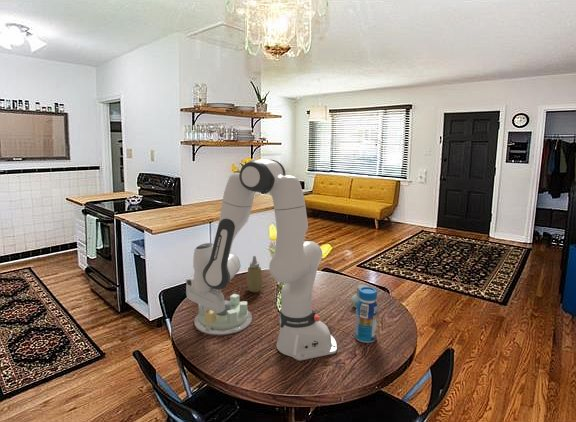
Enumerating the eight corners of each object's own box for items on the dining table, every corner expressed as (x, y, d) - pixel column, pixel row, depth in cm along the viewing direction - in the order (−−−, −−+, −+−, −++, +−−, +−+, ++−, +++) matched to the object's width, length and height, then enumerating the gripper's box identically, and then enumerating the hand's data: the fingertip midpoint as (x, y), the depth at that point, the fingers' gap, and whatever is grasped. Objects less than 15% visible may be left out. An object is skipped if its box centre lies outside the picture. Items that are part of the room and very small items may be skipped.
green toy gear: (218, 302, 169) (218, 289, 168) (257, 312, 160) (256, 298, 159) (187, 322, 151) (187, 308, 150) (229, 334, 142) (228, 319, 141)
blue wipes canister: (350, 334, 146) (352, 287, 142) (368, 330, 149) (371, 284, 145) (361, 345, 138) (364, 296, 134) (380, 341, 141) (384, 292, 137)
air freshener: (349, 310, 166) (350, 289, 164) (351, 302, 174) (352, 282, 172) (374, 313, 164) (375, 292, 162) (374, 304, 172) (376, 284, 170)
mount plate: (250, 305, 169) (250, 300, 168) (253, 333, 146) (253, 326, 145) (197, 308, 165) (196, 303, 165) (191, 337, 142) (191, 330, 142)
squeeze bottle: (260, 286, 191) (260, 253, 187) (264, 292, 183) (264, 258, 180) (245, 288, 188) (244, 254, 185) (248, 294, 181) (248, 259, 177)
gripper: (228, 288, 142) (228, 321, 144) (195, 274, 154) (196, 304, 157) (216, 293, 137) (216, 327, 140) (183, 278, 149) (183, 310, 152)
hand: (205, 315), depth 148 cm, fingers closed
